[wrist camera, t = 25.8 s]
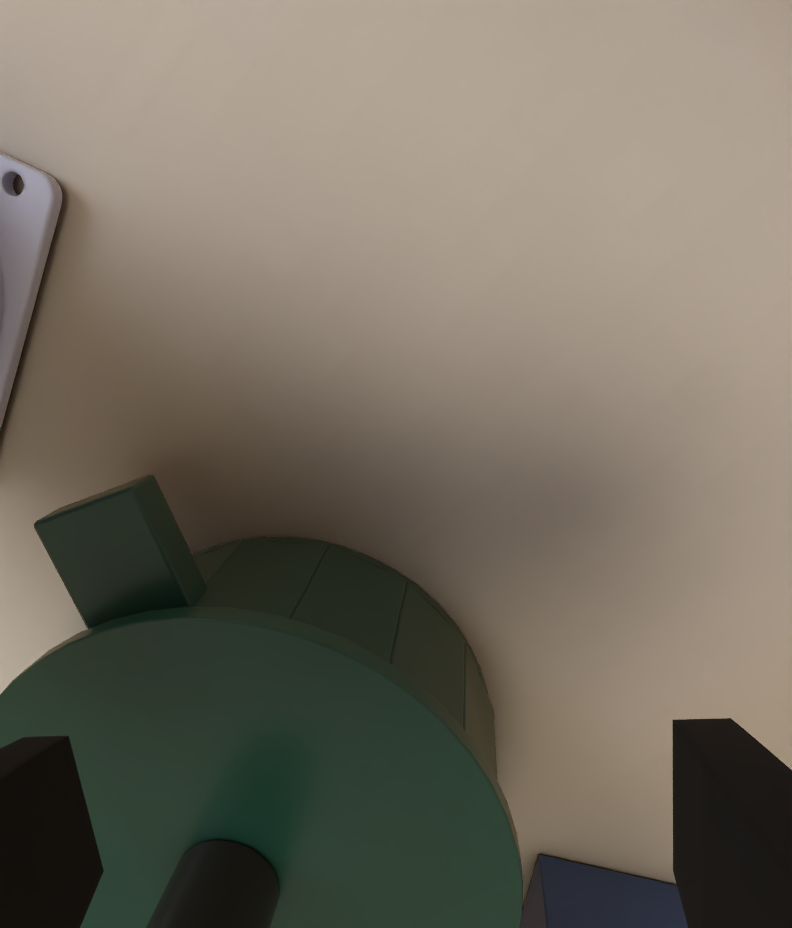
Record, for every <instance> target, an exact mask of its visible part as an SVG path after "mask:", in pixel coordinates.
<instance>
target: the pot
mask: <svg viewBox="0 0 792 928" xmlns="http://www.w3.org/2000/svg"><path fill="white" fill-rule="evenodd" d="M34 528H35V530H36V532H37V533H38V535H39V537H40V539H41V541H42V543H43V545H44V547H45V549H46V551H47V552H48V554H49V556H50V558H51V560H52V562H53V564H54V566H55V568H56V569H57V571H58V573H59V575H60V577H61V579H62V581H63V583H64V585H65V587H66V588H67V590H68V592H69V594H70V596H71V598H72V600H73V602H74V604H75V605H76V607H77V609H78V611H79V613H80V615H81V617H82V619H83V621H84V623H85V624H86V626H87V628H88V629H90V628H93V627H95V626H98V625H100V624H103V623H105V622H108V621H110V620H113V619H117V618H121V617H125V616H129V615H134V614H138V613H142V612H146V611H152V610H161V609H170V608H180V607H227V608H234V609H241V610H248V611H255V612H262V613H269V614H272V615H276V616H280V617H284V618H287V619H291V620H295V621H299V622H303V623H306V624H309V625H312V626H314V627H317V628H319V629H322V630H324V631H327V632H329V633H332V634H335V635H337V636H340V637H342V638H345V639H347V640H349V641H351V642H353V643H354V644H356V645H358V646H360V647H362V648H364V649H366V650H367V651H369V652H371V653H373V654H375V655H377V656H379V657H381V658H382V659H384V660H385V661H387V662H388V663H390V664H391V665H392V666H394V667H395V668H397V669H398V670H400V671H401V672H402V673H404V674H405V675H407V676H408V677H410V678H411V679H412V680H414V681H415V682H417V683H418V684H419V685H420V686H421V687H422V688H423V689H424V690H425V691H427V692H428V693H429V694H430V695H431V696H432V697H433V698H434V699H436V700H437V701H438V702H439V703H440V704H441V705H442V706H443V707H444V708H446V710H447V711H448V712H449V713H450V714H451V715H452V717H453V718H454V719H455V720H456V721H457V722H458V723H459V725H460V726H461V727H462V728H463V729H464V730H465V732H466V733H467V734H468V735H469V736H470V737H471V739H472V740H473V742H474V743H475V745H476V746H477V748H478V749H479V751H480V752H481V754H482V755H483V757H484V758H485V760H486V761H487V763H488V764H489V766H490V767H491V769H492V771H493V773H494V775H495V777H496V779H497V764H496V745H495V726H494V714H493V708H492V705H491V703H490V700H489V698H488V692H487V689H486V685H485V682H484V679H483V676H482V673H481V669H480V667H479V665H478V663H477V660H476V658H475V656H474V654H473V652H472V650H471V648H470V646H469V644H468V643H467V641H466V640H465V638H464V636H463V635H462V633H461V632H460V630H459V629H458V627H457V626H456V624H455V623H454V622H453V621H452V619H451V618H450V617H449V616H448V615H447V614H446V613H445V611H444V610H443V609H442V608H441V607H440V606H439V604H438V603H437V602H435V601H434V600H433V599H432V598H431V597H430V596H429V595H428V594H427V593H425V592H424V591H423V590H422V589H421V588H420V587H419V586H418V585H416V584H415V583H413V582H412V581H410V580H409V579H408V578H406V577H405V576H403V575H402V574H400V573H399V572H398V571H396V570H395V569H393V568H391V567H389V566H387V565H385V564H383V563H381V562H379V561H378V560H376V559H374V558H372V557H370V556H367V555H365V554H362V553H359V552H357V551H354V550H352V549H349V548H346V547H343V546H339V545H335V544H331V543H327V542H323V541H319V540H313V539H305V538H297V537H257V538H250V539H242V540H236V541H232V542H228V543H225V544H221V545H217V546H213V547H211V548H208V549H206V550H204V551H201V552H199V553H196V554H194V555H192V554H191V552H190V550H189V547H188V545H187V543H186V541H185V539H184V537H183V535H182V533H181V531H180V529H179V527H178V524H177V522H176V520H175V518H174V516H173V514H172V512H171V510H170V508H169V506H168V504H167V501H166V499H165V497H164V495H163V493H162V491H161V489H160V487H159V485H158V483H157V481H156V478H155V477H154V476H153V475H147V476H144V477H141V478H139V479H136V480H133V481H131V482H128V483H125V484H123V485H120V486H117V487H115V488H112V489H109V490H106V491H104V492H101V493H98V494H96V495H93V496H90V497H88V498H85V499H82V500H80V501H77V502H74V503H72V504H69V505H66V506H64V507H61V508H59V509H57V510H55V511H53V512H52V513H50V514H48V515H46V516H45V517H43V518H41V519H39V520H37V521H36V522H35V523H34Z"/></svg>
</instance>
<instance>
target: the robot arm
mask: <svg viewBox="0 0 792 928" xmlns="http://www.w3.org/2000/svg"><path fill="white" fill-rule="evenodd" d="M17 175H20V176H21V178H22V180H23V182H24V189H23V191H22V193H21V194H20V195H17V194H16V193H15V191H14V188H13V180H14V179H15V177H16V176H17ZM61 205H62V191H61V188H60V185H59V184H58V183H57V181H56V180H55V178H53V177H52V176H50V175H49V174H48V173H45V172H43V171H41V170H39V169H37V168H34V167H32V166H30V165H28V164H26V163H24V162H21V161H19V160H17V159H15V158H13V157H10V156H8V155H6V154H4V153H2V152H0V430H1V426H2V423H3V419H4V415H5V412H6V408H7V404H8V401H9V397H10V393H11V389H12V386H13V382H14V378H15V375H16V371H17V367H18V364H19V360H20V356H21V353H22V349H23V345H24V341H25V338H26V334H27V330H28V327H29V323H30V319H31V316H32V312H33V308H34V305H35V301H36V297H37V294H38V290H39V286H40V282H41V279H42V275H43V271H44V268H45V264H46V260H47V257H48V253H49V249H50V246H51V242H52V238H53V234H54V231H55V227H56V223H57V220H58V216H59V212H60V209H61ZM103 871H104V870H103V866H102V862H101V858H100V854H99V851H98V847H97V843H96V839H95V835H94V831H93V827H92V824H91V820H90V816H89V812H88V808H87V804H86V800H85V797H84V793H83V789H82V785H81V781H80V777H79V773H78V770H77V766H76V762H75V758H74V754H73V750H72V747H71V743H70V739H69V736H39V737H23V738H21V739H19V740H17V741H14V742H12V743H10V744H8V745H6V746H4V747H2V748H1V749H0V928H80V926H81V924H82V922H83V920H84V917H85V915H86V912H87V910H88V908H89V905H90V903H91V900H92V898H93V896H94V893H95V891H96V888H97V886H98V883H99V881H100V879H101V876H102V874H103ZM673 872H674V876H675V879H676V883H677V887H678V891H679V895H680V898H681V902H682V906H683V910H684V914H685V917H686V921H687V925H688V928H792V770H791V769H790V768H788V767H787V766H786V765H785V764H784V763H783V762H781V761H780V760H779V759H778V758H777V757H776V756H775V755H773V754H772V753H771V752H770V751H769V750H768V749H766V748H765V747H764V746H763V745H762V744H761V743H759V742H758V741H757V740H756V739H755V738H754V737H752V736H751V735H750V734H749V733H748V732H746V731H745V730H744V729H743V728H742V727H741V726H739V725H738V724H737V723H736V722H734V721H733V720H732V719H731V718H727V719H689V720H673Z"/></svg>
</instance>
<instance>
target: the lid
mask: <svg viewBox="0 0 792 928" xmlns="http://www.w3.org/2000/svg"><path fill="white" fill-rule="evenodd" d="M39 736H69V739H70V743H71V747H72V750H73V754H74V758H75V762H76V766H77V770H78V773H79V777H80V781H81V785H82V789H83V793H84V797H85V800H86V804H87V808H88V812H89V816H90V820H91V824H92V827H93V831H94V835H95V839H96V843H97V847H98V851H99V854H100V858H101V862H102V866H103V870H104V871H103V874H102V876H101V879H100V881H99V883H98V886H97V888H96V891H95V893H94V896H93V898H92V900H91V903H90V905H89V908H88V910H87V912H86V915H85V917H84V920H83V922H82V924H81V926H80V928H520V923H521V918H522V898H523V879H522V867H521V860H520V853H519V846H518V839H517V833H516V829H515V826H514V823H513V820H512V816H511V813H510V810H509V807H508V803H507V800H506V798H505V796H504V794H503V792H502V790H501V788H500V786H499V784H498V782H497V779H496V777H495V775H494V773H493V771H492V769H491V767H490V766H489V764H488V763H487V761H486V760H485V758H484V757H483V755H482V754H481V752H480V751H479V749H478V748H477V746H476V745H475V743H474V742H473V740H472V739H471V737H470V736H469V735H468V734H467V733H466V732H465V730H464V729H463V728H462V727H461V726H460V725H459V723H458V722H457V721H456V720H455V719H454V718H453V717H452V715H451V714H450V713H449V712H448V711H447V710H446V708H444V707H443V706H442V705H441V704H440V703H439V702H438V701H437V700H436V699H434V698H433V697H432V696H431V695H430V694H429V693H428V692H427V691H425V690H424V689H423V688H422V687H421V686H420V685H419V684H418V683H417V682H415V681H414V680H412V679H411V678H410V677H408V676H407V675H405V674H404V673H402V672H401V671H400V670H398V669H397V668H395V667H394V666H392V665H391V664H390V663H388V662H387V661H385V660H384V659H382V658H381V657H379V656H377V655H375V654H373V653H371V652H369V651H367V650H366V649H364V648H362V647H360V646H358V645H356V644H354V643H353V642H351V641H349V640H347V639H345V638H342V637H340V636H337V635H335V634H332V633H329V632H327V631H324V630H322V629H319V628H317V627H314V626H312V625H309V624H306V623H303V622H299V621H295V620H291V619H287V618H284V617H280V616H276V615H272V614H269V613H262V612H255V611H248V610H241V609H234V608H227V607H180V608H170V609H161V610H152V611H146V612H142V613H138V614H134V615H129V616H125V617H121V618H117V619H113V620H110V621H108V622H105V623H103V624H100V625H98V626H95V627H93V628H90V629H87V630H85V631H82V632H80V633H78V634H76V635H75V636H73V637H71V638H69V639H68V640H66V641H64V642H62V643H61V644H59V645H57V646H56V647H54V648H52V649H50V650H49V651H48V652H47V653H45V654H44V655H43V656H42V657H40V658H39V659H38V660H37V661H35V662H34V663H33V664H32V665H31V666H29V667H28V668H27V669H26V670H24V671H23V672H22V673H21V674H20V675H19V676H18V677H16V678H15V679H14V680H13V681H12V682H11V683H10V684H9V685H8V687H7V688H6V689H5V690H4V691H3V692H2V693H1V694H0V749H1V748H2V747H4V746H6V745H8V744H10V743H12V742H14V741H17V740H19V739H21V738H23V737H39Z"/></svg>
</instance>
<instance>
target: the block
mask: <svg viewBox="0 0 792 928" xmlns="http://www.w3.org/2000/svg"><path fill="white" fill-rule="evenodd" d="M520 928H688V925H687V921H686V917H685V914H684V910H683V906H682V902H681V898H680V895H679V891H678V887H677V886H676V885H671V884H667V883H663V882H658V881H654V880H650V879H645V878H641V877H636V876H632V875H628V874H623V873H619V872H614V871H610V870H606V869H601V868H597V867H592V866H588V865H584V864H579V863H575V862H570V861H566V860H562V859H557V858H553V857H548V856H544V855H539V856H538V859H537V863H536V866H535V870H534V873H533V876H532V880H531V883H530V887H529V890H528V894H527V897H526V900H525V904H524V907H523V911H522V918H521V923H520Z"/></svg>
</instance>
